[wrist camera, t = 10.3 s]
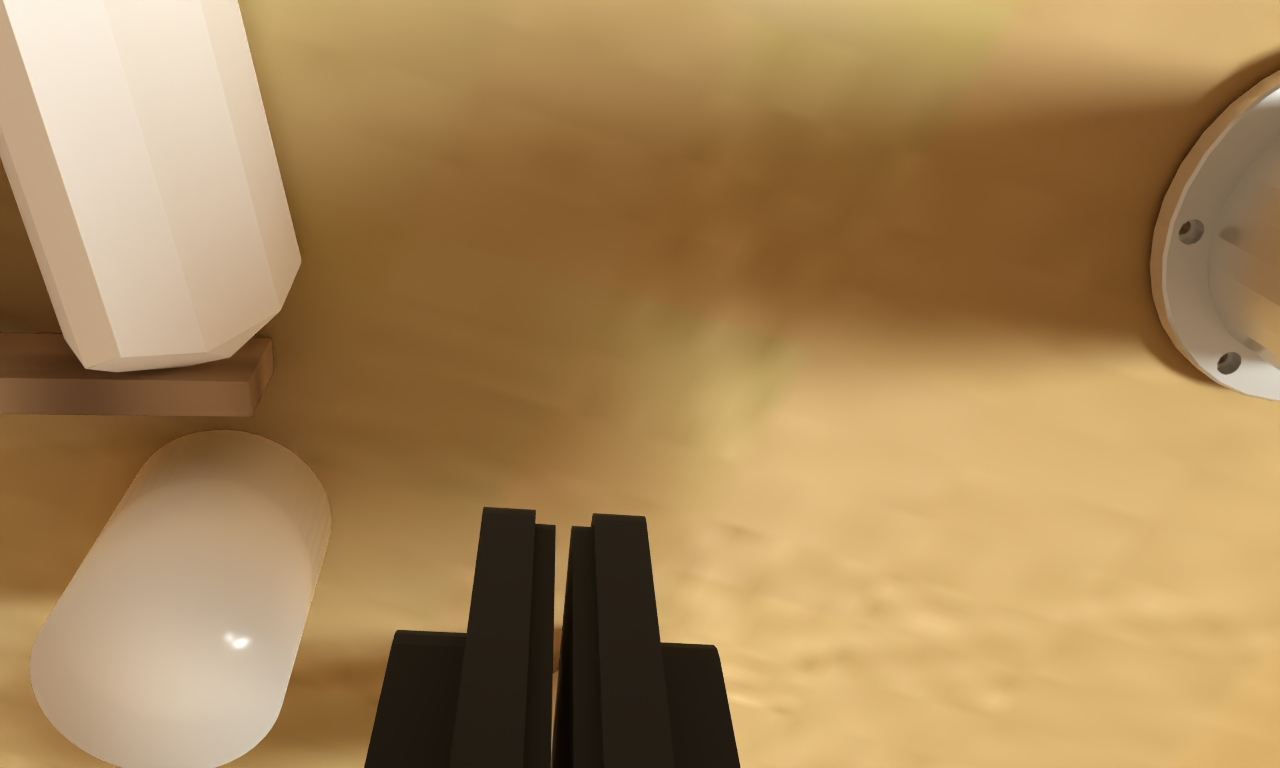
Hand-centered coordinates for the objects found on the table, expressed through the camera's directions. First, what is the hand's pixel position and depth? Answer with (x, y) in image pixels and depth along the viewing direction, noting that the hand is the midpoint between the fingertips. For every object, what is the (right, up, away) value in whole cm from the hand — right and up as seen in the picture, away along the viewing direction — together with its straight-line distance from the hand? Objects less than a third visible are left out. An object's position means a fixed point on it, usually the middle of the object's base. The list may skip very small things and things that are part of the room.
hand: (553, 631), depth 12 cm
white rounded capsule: (-14, -2, +29) cm, 32 cm away
